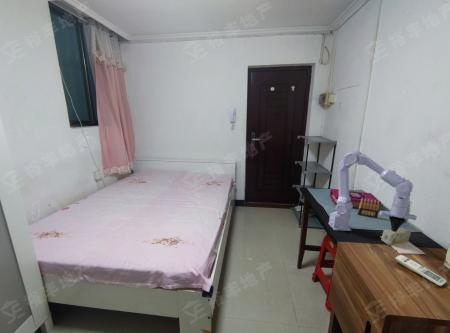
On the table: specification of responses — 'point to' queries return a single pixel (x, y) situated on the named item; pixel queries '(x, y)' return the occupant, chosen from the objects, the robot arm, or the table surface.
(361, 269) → the table surface
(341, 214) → the robot arm
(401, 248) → the mat
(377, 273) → the table surface
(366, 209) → the ammunition clip
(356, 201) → the book
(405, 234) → the skincare box
